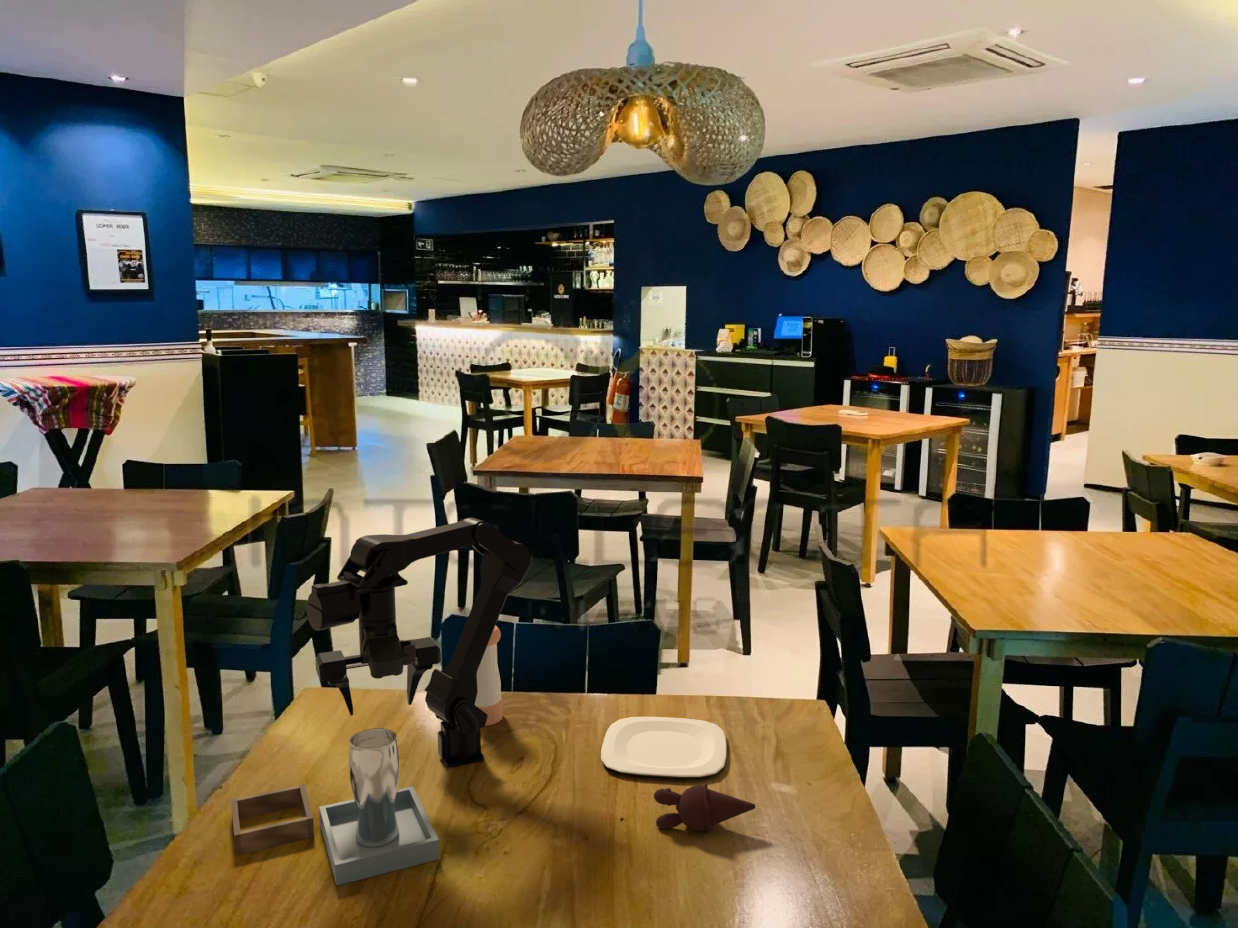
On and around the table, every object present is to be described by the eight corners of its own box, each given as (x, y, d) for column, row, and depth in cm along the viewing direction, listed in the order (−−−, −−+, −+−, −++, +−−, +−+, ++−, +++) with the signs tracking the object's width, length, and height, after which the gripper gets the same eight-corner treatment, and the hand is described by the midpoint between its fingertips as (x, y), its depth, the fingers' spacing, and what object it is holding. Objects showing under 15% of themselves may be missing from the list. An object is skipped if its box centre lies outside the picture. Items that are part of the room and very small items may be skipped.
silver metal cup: (405, 843, 128) (401, 744, 126) (354, 853, 125) (349, 753, 123) (398, 818, 134) (394, 724, 132) (350, 827, 132) (345, 731, 129)
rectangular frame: (305, 801, 141) (304, 784, 140) (314, 836, 131) (313, 817, 131) (232, 817, 136) (231, 799, 136) (235, 855, 127) (234, 835, 126)
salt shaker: (470, 729, 166) (467, 630, 163) (460, 713, 172) (457, 617, 169) (507, 721, 169) (506, 624, 166) (496, 706, 175) (494, 612, 172)
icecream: (752, 775, 137) (654, 779, 138) (755, 788, 130) (651, 792, 131) (755, 822, 136) (657, 825, 137) (758, 838, 129) (654, 841, 130)
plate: (594, 779, 149) (594, 770, 148) (610, 722, 170) (610, 713, 170) (726, 787, 146) (726, 777, 146) (726, 728, 168) (726, 719, 167)
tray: (413, 803, 140) (413, 786, 140) (439, 859, 126) (438, 839, 125) (320, 825, 134) (319, 806, 134) (336, 885, 120) (335, 865, 120)
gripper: (322, 641, 130) (327, 741, 133) (448, 623, 138) (451, 718, 141) (312, 618, 140) (317, 712, 143) (431, 602, 148) (433, 692, 151)
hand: (380, 709), depth 144 cm, fingers open, 9 cm apart
